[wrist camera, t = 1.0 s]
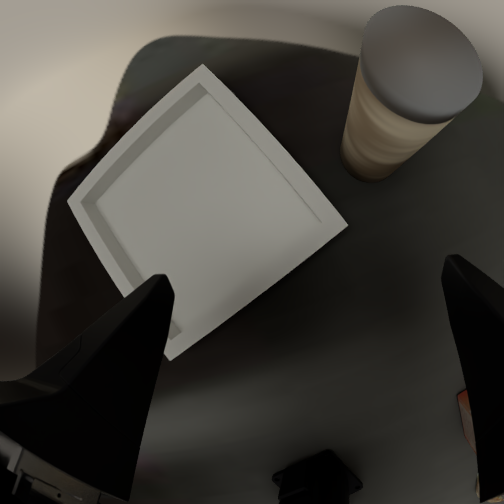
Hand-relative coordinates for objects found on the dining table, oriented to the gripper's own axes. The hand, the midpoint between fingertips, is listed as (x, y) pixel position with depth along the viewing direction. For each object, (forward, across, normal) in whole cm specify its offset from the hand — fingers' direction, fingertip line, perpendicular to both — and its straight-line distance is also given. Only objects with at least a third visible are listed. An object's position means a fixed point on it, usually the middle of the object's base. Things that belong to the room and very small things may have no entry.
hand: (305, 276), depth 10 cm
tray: (+14, +9, +5) cm, 17 cm away
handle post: (+15, -5, +2) cm, 16 cm away
